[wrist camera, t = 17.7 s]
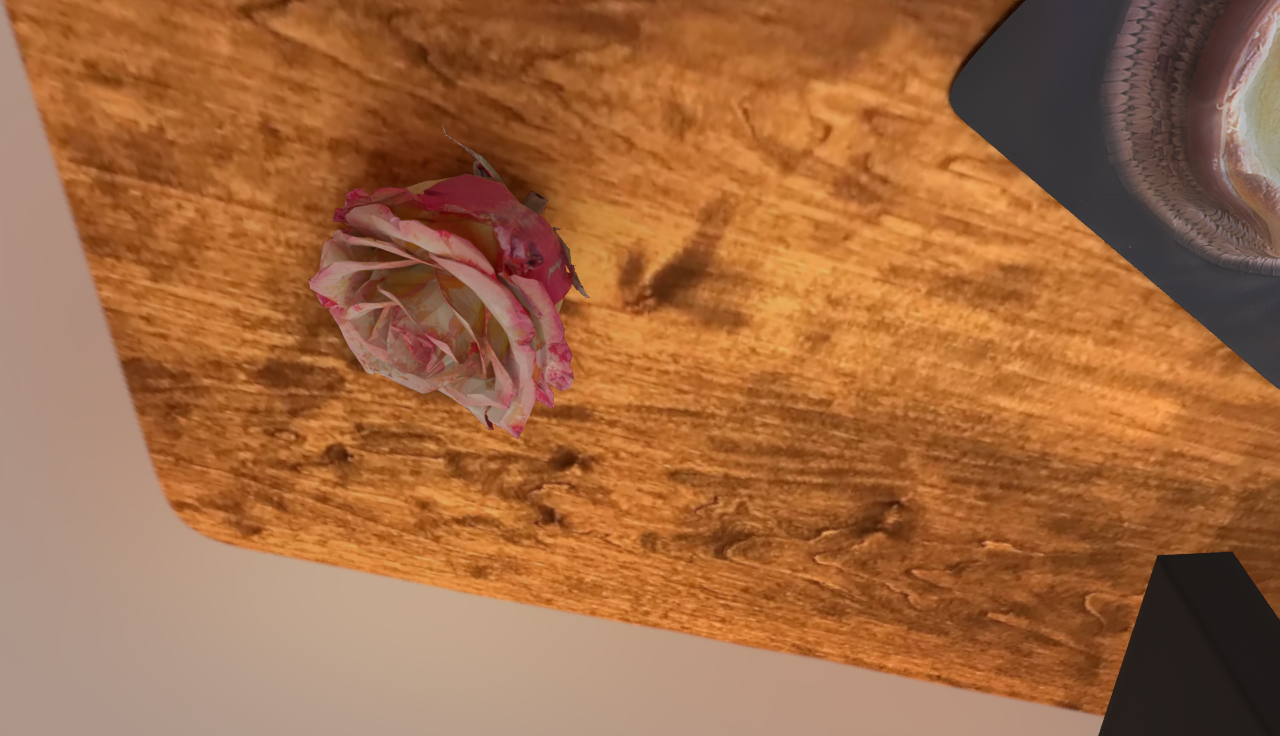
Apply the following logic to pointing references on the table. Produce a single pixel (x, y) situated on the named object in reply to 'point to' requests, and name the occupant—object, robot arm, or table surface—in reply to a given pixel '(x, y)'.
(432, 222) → the flower
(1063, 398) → the table surface
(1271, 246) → the dark printed mat
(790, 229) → the table surface
